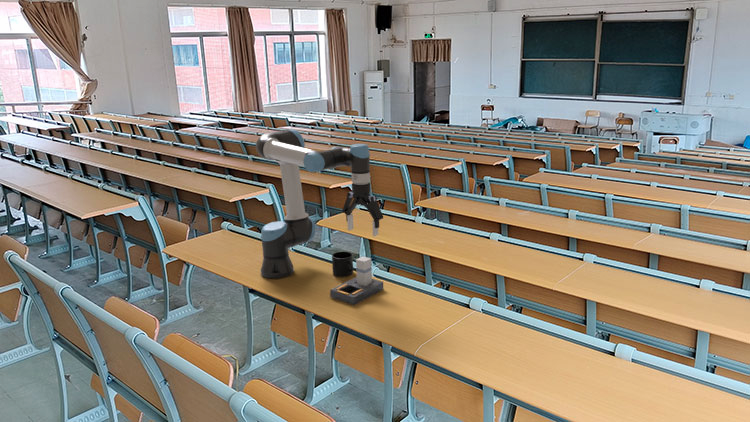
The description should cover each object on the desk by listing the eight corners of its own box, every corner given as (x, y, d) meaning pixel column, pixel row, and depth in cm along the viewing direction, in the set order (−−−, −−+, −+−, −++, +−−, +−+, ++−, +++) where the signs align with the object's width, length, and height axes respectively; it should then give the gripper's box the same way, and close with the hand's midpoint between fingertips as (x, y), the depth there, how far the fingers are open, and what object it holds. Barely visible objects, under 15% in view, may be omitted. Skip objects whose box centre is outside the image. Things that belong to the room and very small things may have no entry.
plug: (357, 290, 236) (355, 259, 232) (364, 286, 240) (362, 256, 236) (365, 292, 234) (364, 261, 230) (372, 289, 237) (371, 258, 233)
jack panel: (330, 297, 230) (330, 288, 229) (360, 282, 244) (360, 274, 243) (354, 305, 222) (353, 296, 221) (383, 289, 236) (383, 281, 235)
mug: (344, 280, 246) (344, 261, 244) (328, 273, 255) (327, 255, 253) (361, 274, 252) (360, 256, 250) (344, 267, 261) (343, 249, 258)
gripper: (332, 180, 228) (334, 229, 234) (379, 188, 213) (380, 240, 219) (344, 177, 234) (346, 225, 240) (391, 184, 219) (392, 235, 225)
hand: (362, 232), depth 229 cm, fingers open, 13 cm apart
